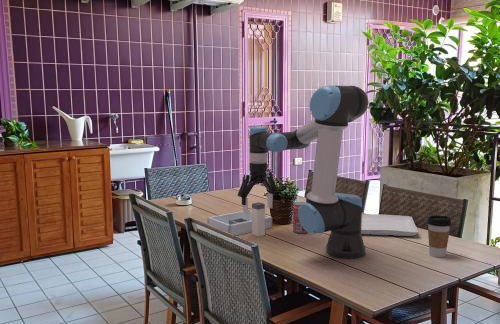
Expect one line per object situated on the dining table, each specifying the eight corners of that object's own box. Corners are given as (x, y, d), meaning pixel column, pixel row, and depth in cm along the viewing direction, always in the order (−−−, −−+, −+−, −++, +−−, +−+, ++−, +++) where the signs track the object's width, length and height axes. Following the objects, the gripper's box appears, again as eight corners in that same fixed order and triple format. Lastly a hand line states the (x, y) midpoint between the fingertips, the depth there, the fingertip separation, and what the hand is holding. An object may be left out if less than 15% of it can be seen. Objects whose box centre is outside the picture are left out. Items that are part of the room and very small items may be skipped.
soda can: (308, 234, 215) (308, 205, 213) (292, 233, 217) (292, 204, 215) (309, 229, 222) (309, 202, 220) (293, 229, 224) (294, 201, 222)
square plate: (353, 220, 239) (353, 213, 239) (411, 223, 234) (411, 215, 233) (353, 236, 213) (353, 227, 212) (418, 239, 207) (419, 231, 207)
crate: (272, 227, 226) (272, 217, 225) (229, 236, 212) (229, 225, 211) (249, 219, 240) (248, 209, 240) (207, 228, 226) (207, 217, 225)
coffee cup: (447, 260, 181) (449, 220, 179) (423, 256, 186) (425, 217, 183) (451, 253, 188) (453, 215, 186) (428, 250, 193) (430, 213, 190)
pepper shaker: (264, 234, 215) (264, 203, 213) (257, 236, 212) (257, 205, 210) (259, 232, 218) (259, 202, 216) (252, 234, 215) (251, 203, 213)
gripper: (274, 158, 221) (274, 204, 224) (229, 163, 206) (229, 212, 209) (285, 160, 215) (285, 207, 218) (239, 166, 200) (239, 216, 203)
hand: (257, 210), depth 214 cm, fingers open, 13 cm apart
